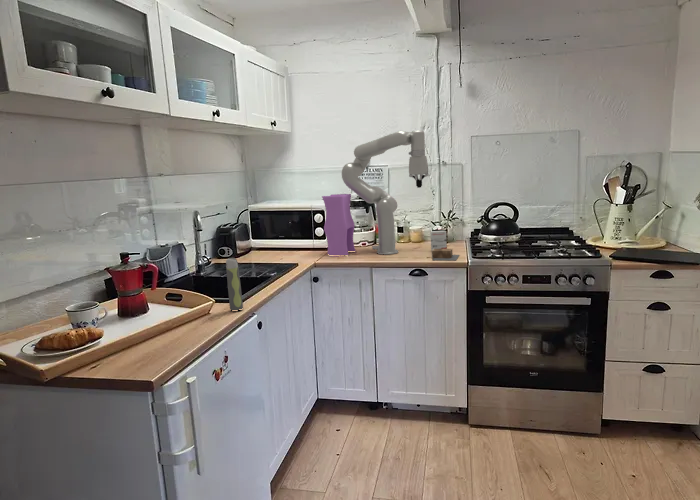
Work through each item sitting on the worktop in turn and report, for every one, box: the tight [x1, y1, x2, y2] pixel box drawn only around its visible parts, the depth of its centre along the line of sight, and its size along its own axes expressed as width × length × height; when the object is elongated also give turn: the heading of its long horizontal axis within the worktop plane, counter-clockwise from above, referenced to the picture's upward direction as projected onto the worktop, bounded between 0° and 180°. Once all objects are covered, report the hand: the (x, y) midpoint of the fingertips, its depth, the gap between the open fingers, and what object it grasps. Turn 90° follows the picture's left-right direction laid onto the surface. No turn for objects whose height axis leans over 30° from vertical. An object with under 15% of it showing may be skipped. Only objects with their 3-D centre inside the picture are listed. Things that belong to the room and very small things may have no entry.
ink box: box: [430, 230, 448, 253], centre depth 272 cm, size 9×5×12 cm, turn 84°
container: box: [321, 193, 357, 256], centre depth 280 cm, size 14×14×35 cm
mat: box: [432, 254, 460, 262], centre depth 253 cm, size 12×14×1 cm
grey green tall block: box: [225, 257, 244, 310], centre depth 178 cm, size 5×5×20 cm
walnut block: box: [431, 248, 454, 259], centre depth 254 cm, size 4×6×10 cm
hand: (419, 187), depth 265 cm, fingers closed
